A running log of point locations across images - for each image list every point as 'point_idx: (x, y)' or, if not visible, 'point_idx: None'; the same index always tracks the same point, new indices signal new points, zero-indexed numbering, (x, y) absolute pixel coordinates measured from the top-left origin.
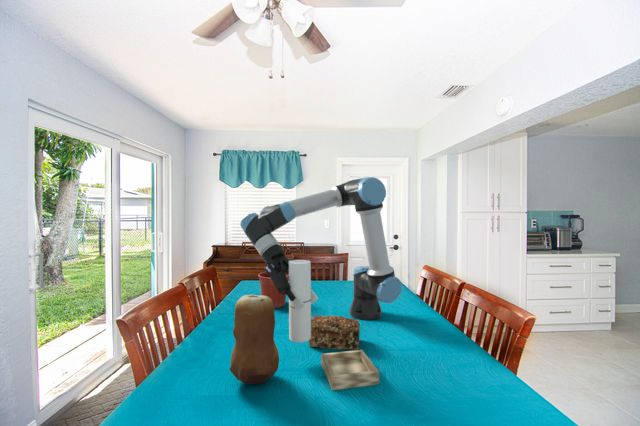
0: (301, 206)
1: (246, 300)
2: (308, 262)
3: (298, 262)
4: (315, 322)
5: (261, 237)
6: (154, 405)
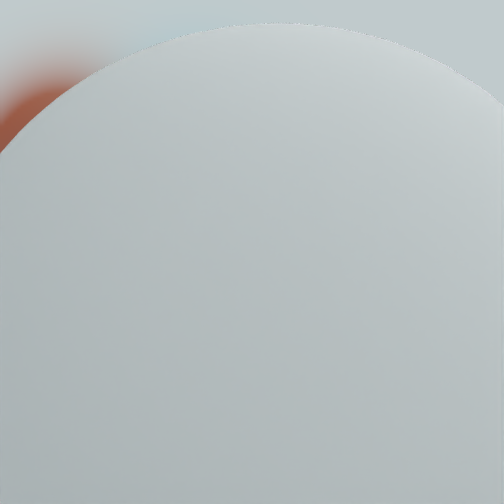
0: None
1: None
2: (161, 45)
3: (378, 126)
4: None
5: None
6: None
